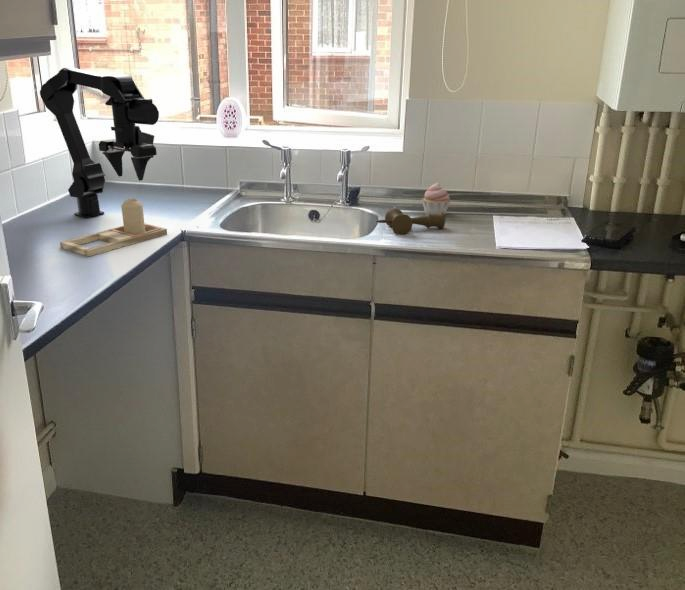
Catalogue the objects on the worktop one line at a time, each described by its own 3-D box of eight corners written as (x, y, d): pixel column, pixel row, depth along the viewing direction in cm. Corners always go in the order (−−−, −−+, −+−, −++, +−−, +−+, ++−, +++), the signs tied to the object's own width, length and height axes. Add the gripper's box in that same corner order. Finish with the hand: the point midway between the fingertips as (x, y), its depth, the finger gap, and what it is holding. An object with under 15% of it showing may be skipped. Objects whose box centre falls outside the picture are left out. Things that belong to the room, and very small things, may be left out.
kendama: (448, 234, 189) (380, 236, 186) (437, 226, 198) (371, 227, 194) (450, 213, 187) (381, 215, 184) (438, 206, 196) (372, 207, 192)
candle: (144, 237, 182) (140, 201, 178) (123, 238, 181) (119, 202, 178) (146, 232, 187) (143, 196, 184) (126, 232, 186) (122, 197, 183)
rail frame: (60, 247, 173) (59, 241, 172) (139, 226, 192) (138, 221, 191) (88, 256, 167) (87, 250, 166) (167, 234, 185) (166, 228, 185)
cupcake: (456, 217, 205) (458, 184, 201) (428, 219, 202) (430, 187, 198) (441, 209, 213) (443, 178, 209) (415, 212, 210) (416, 180, 206)
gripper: (169, 122, 187) (174, 177, 193) (127, 117, 197) (132, 170, 203) (136, 126, 179) (142, 184, 184) (94, 121, 189) (101, 176, 194)
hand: (130, 178), depth 192 cm, fingers open, 9 cm apart
